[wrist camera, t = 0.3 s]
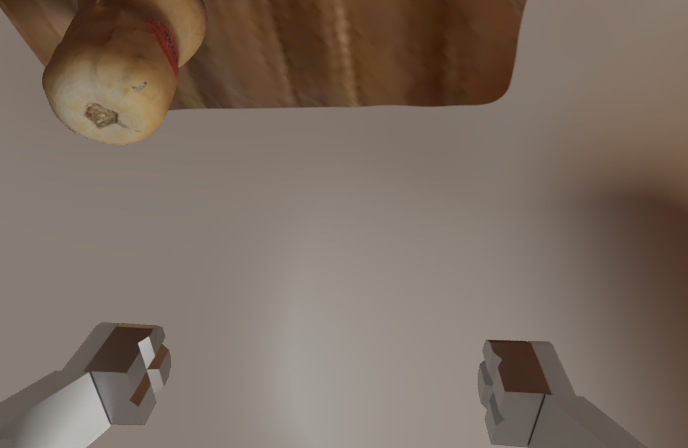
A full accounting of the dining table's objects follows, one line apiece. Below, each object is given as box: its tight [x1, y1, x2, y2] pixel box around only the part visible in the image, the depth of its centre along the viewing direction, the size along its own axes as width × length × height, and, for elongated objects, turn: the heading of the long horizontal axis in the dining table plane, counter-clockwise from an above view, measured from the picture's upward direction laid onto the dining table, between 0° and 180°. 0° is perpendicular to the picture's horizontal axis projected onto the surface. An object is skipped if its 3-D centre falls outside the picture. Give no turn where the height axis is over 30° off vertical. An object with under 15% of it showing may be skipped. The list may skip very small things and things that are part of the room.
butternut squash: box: [42, 0, 207, 144], centre depth 50 cm, size 14×13×25 cm
